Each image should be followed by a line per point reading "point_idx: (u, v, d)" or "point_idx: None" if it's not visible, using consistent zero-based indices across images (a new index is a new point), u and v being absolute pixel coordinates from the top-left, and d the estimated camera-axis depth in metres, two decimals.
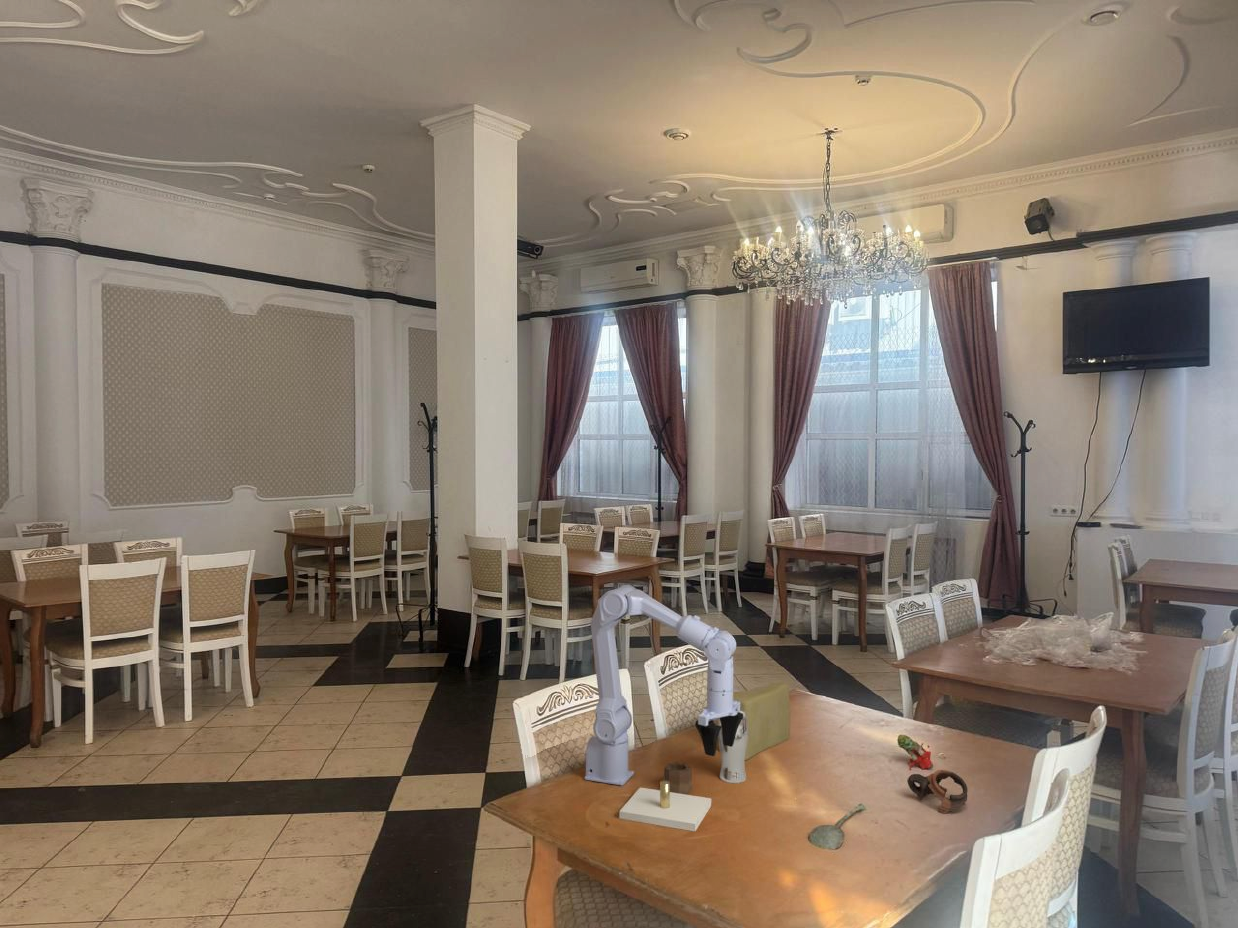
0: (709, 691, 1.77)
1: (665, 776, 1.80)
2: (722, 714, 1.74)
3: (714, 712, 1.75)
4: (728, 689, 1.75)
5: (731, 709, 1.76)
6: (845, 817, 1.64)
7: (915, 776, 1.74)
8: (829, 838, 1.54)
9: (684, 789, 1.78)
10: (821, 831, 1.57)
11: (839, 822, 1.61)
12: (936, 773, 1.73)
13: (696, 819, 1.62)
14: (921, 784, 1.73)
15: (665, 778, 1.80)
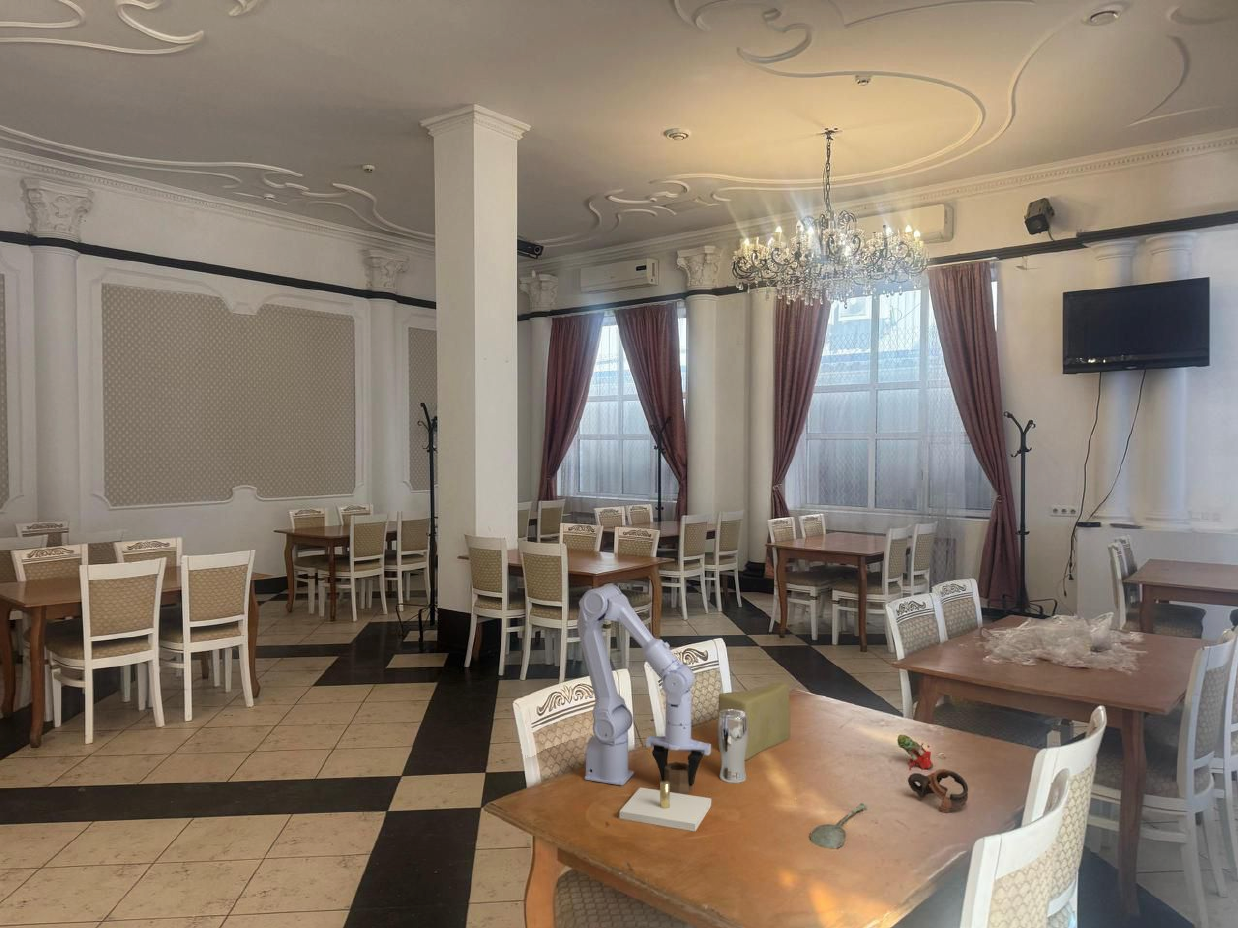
0: None
1: (665, 776, 1.80)
2: (663, 743, 1.79)
3: (664, 740, 1.81)
4: (685, 722, 1.78)
5: (675, 744, 1.78)
6: (846, 817, 1.64)
7: (916, 775, 1.75)
8: (830, 838, 1.55)
9: (684, 789, 1.78)
10: (822, 831, 1.57)
11: (840, 822, 1.62)
12: (937, 772, 1.73)
13: (696, 819, 1.62)
14: (922, 783, 1.74)
15: (665, 778, 1.80)
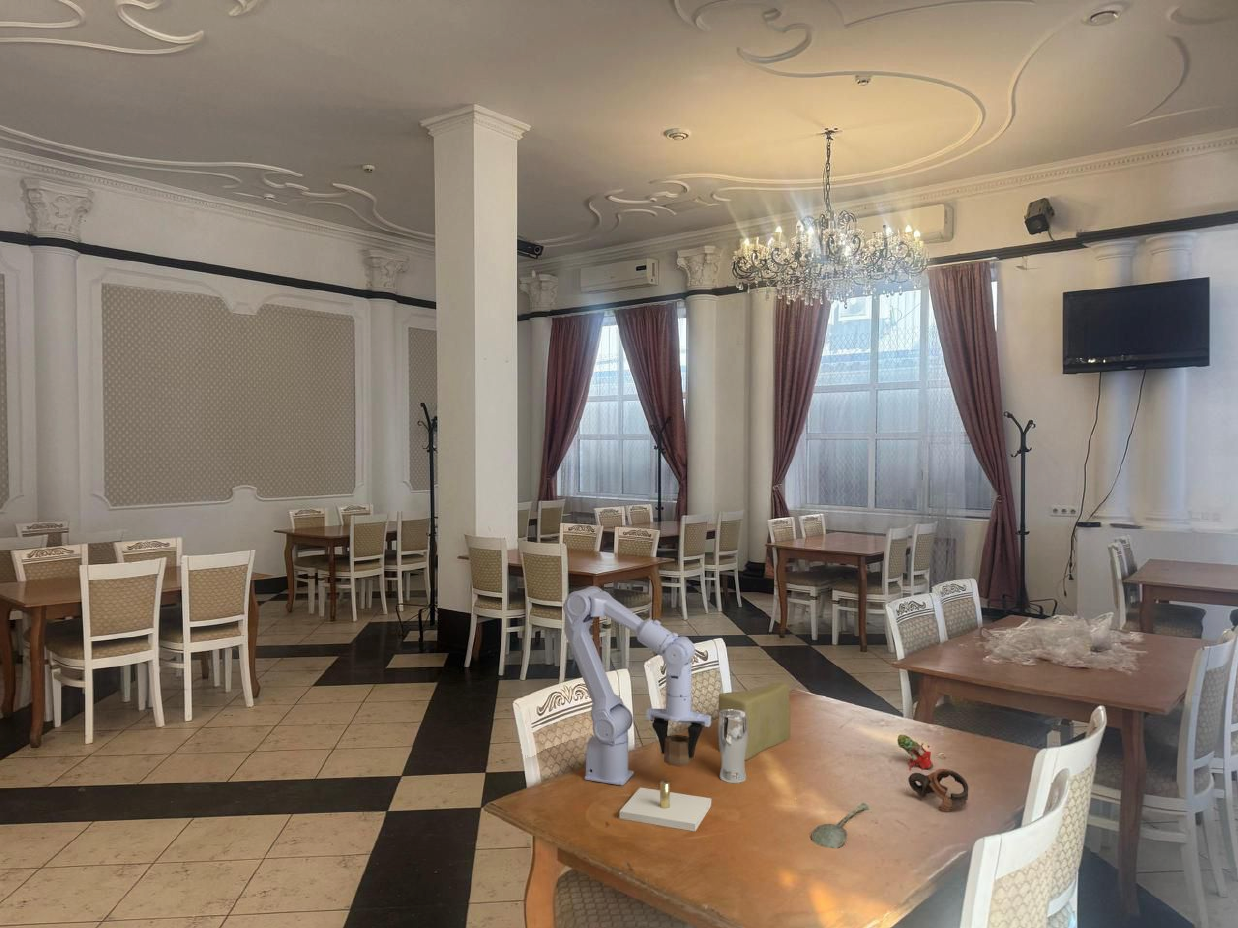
0: None
1: (665, 748, 1.80)
2: (664, 715, 1.79)
3: (665, 712, 1.81)
4: (685, 694, 1.78)
5: (675, 715, 1.78)
6: (848, 816, 1.64)
7: (916, 775, 1.75)
8: (831, 837, 1.55)
9: (684, 761, 1.78)
10: (823, 830, 1.57)
11: (842, 821, 1.62)
12: (937, 772, 1.74)
13: (696, 819, 1.62)
14: (922, 783, 1.74)
15: (665, 750, 1.80)
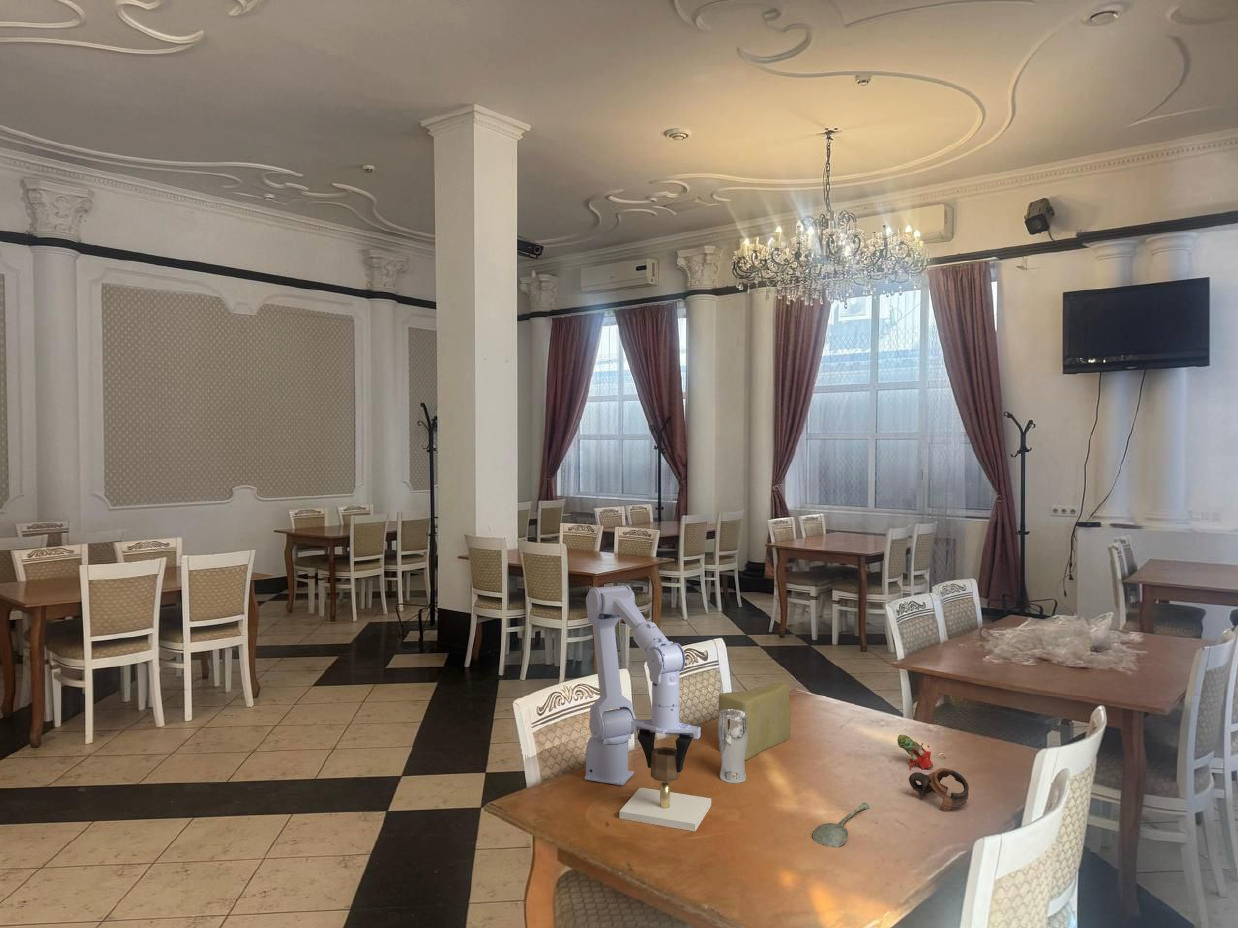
0: None
1: (651, 762, 1.67)
2: (649, 727, 1.67)
3: (651, 723, 1.69)
4: (664, 704, 1.65)
5: (662, 727, 1.65)
6: (849, 816, 1.65)
7: (917, 774, 1.75)
8: (832, 836, 1.55)
9: (672, 775, 1.66)
10: (824, 829, 1.57)
11: (843, 820, 1.62)
12: (937, 771, 1.74)
13: (696, 819, 1.62)
14: (922, 782, 1.74)
15: (651, 764, 1.67)
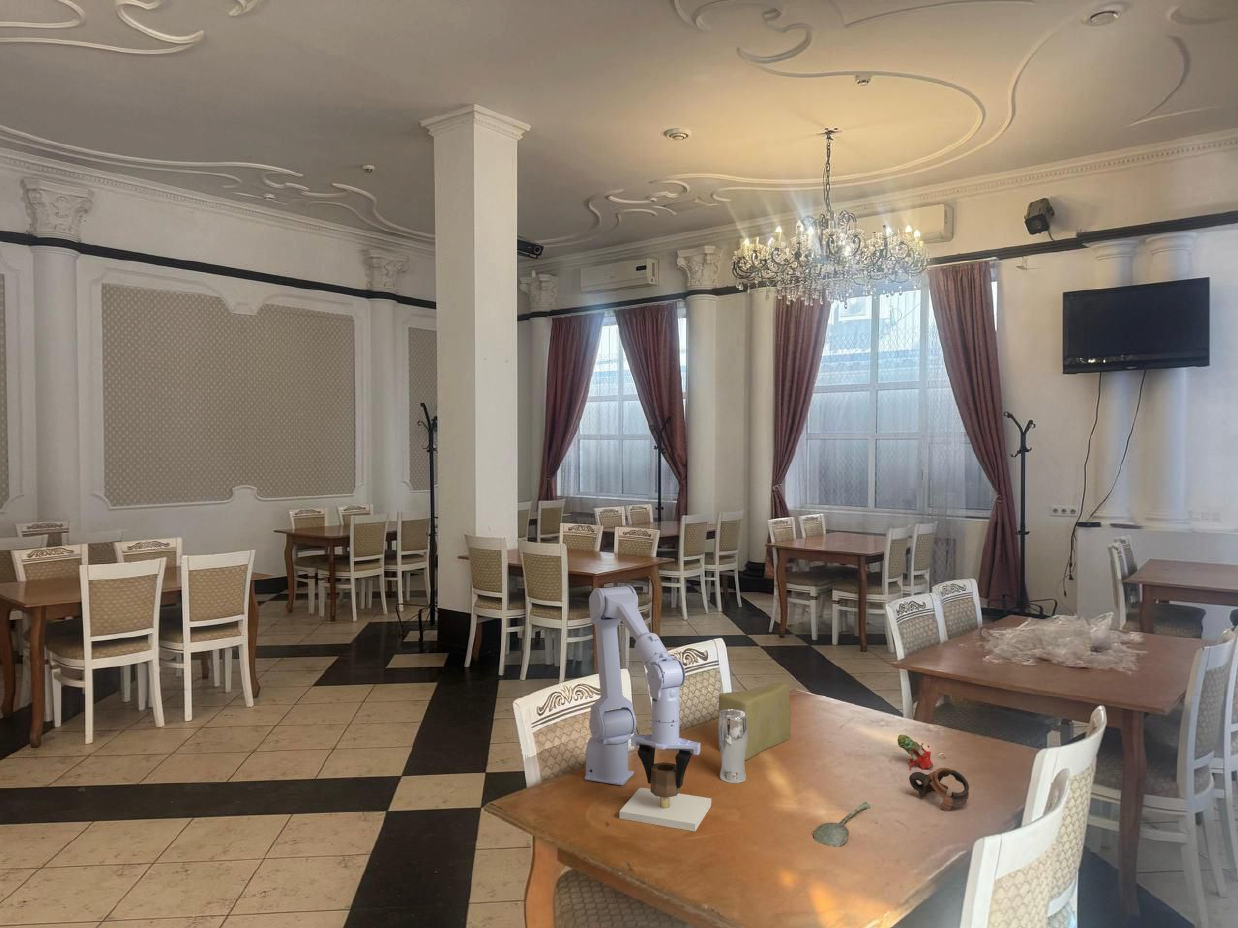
0: None
1: (651, 777, 1.67)
2: (649, 742, 1.67)
3: (651, 739, 1.69)
4: (664, 720, 1.65)
5: (662, 742, 1.65)
6: (850, 815, 1.65)
7: (917, 774, 1.75)
8: (833, 836, 1.56)
9: (672, 791, 1.66)
10: (825, 829, 1.58)
11: (843, 820, 1.62)
12: (938, 771, 1.74)
13: (696, 819, 1.62)
14: (923, 782, 1.74)
15: (651, 779, 1.67)
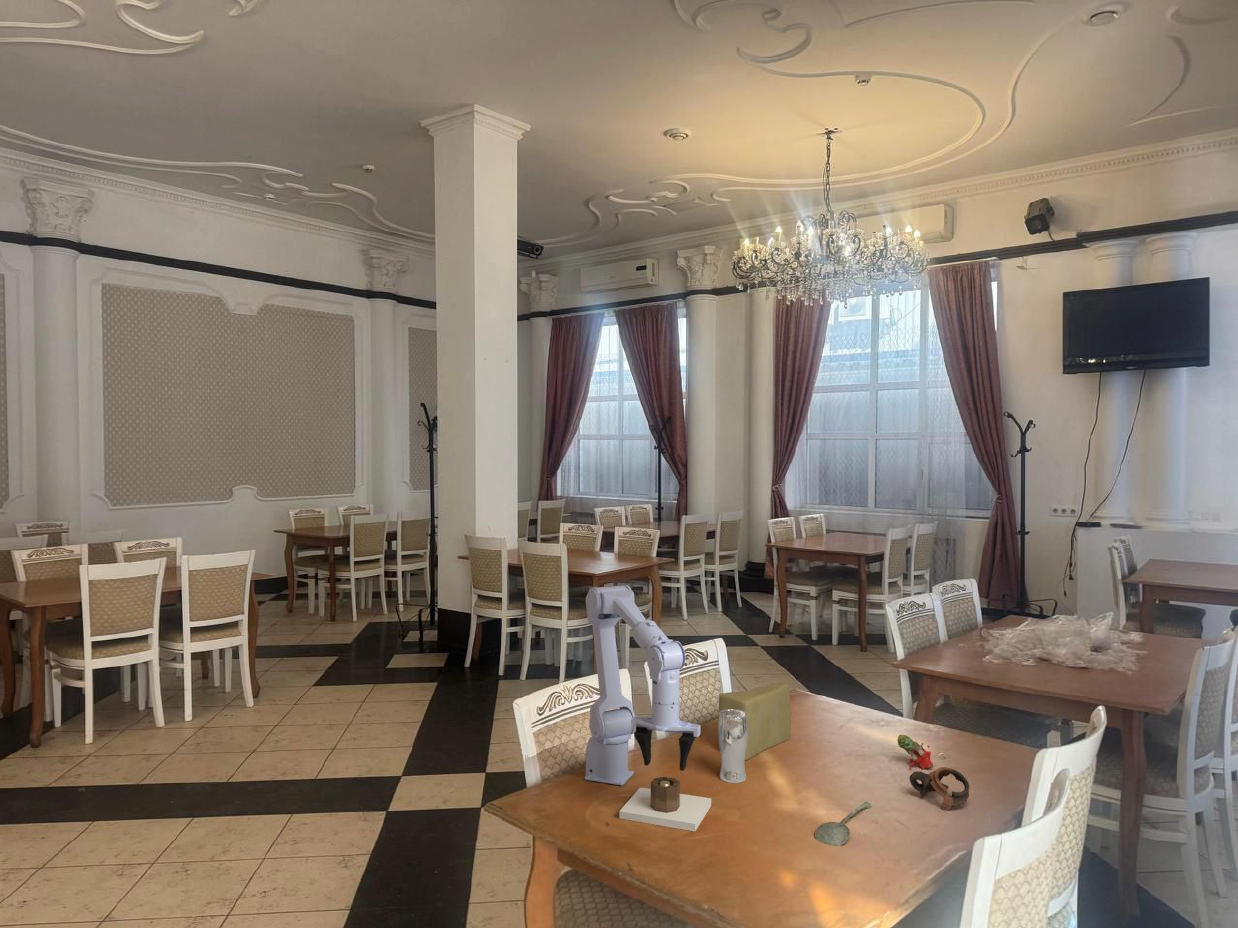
0: None
1: (651, 792, 1.67)
2: (649, 725, 1.67)
3: (651, 721, 1.69)
4: (664, 702, 1.65)
5: (662, 725, 1.65)
6: (850, 814, 1.65)
7: (917, 773, 1.76)
8: (834, 835, 1.56)
9: (672, 806, 1.66)
10: (826, 828, 1.58)
11: (844, 819, 1.63)
12: (938, 770, 1.75)
13: (696, 819, 1.62)
14: (923, 781, 1.75)
15: (651, 794, 1.67)
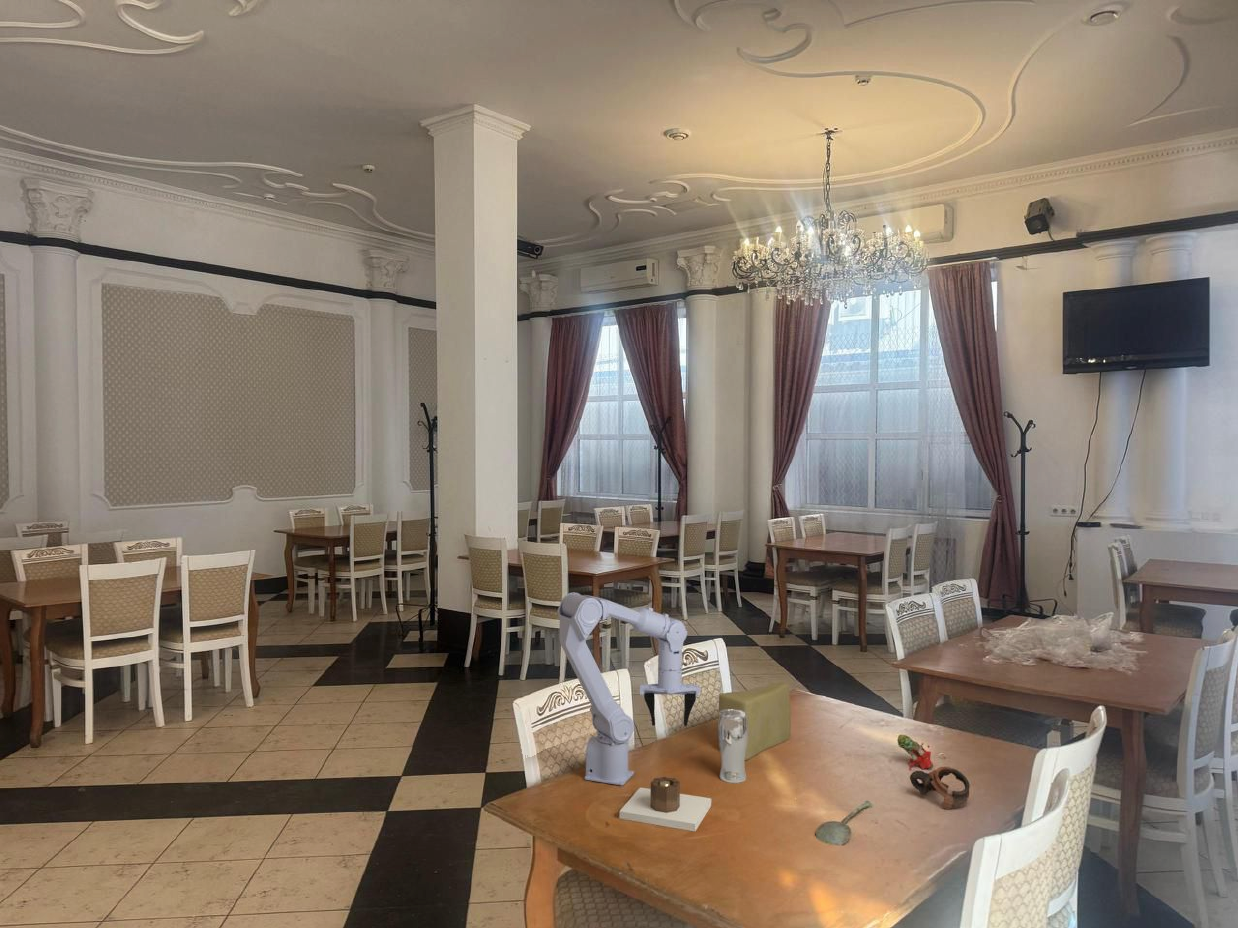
0: None
1: (651, 792, 1.67)
2: (659, 689, 1.92)
3: (657, 687, 1.94)
4: (681, 666, 1.94)
5: (671, 688, 1.92)
6: (852, 814, 1.65)
7: (918, 773, 1.76)
8: (835, 834, 1.56)
9: (672, 806, 1.66)
10: (827, 827, 1.58)
11: (846, 819, 1.63)
12: (938, 770, 1.75)
13: (696, 819, 1.62)
14: (924, 781, 1.75)
15: (651, 794, 1.67)
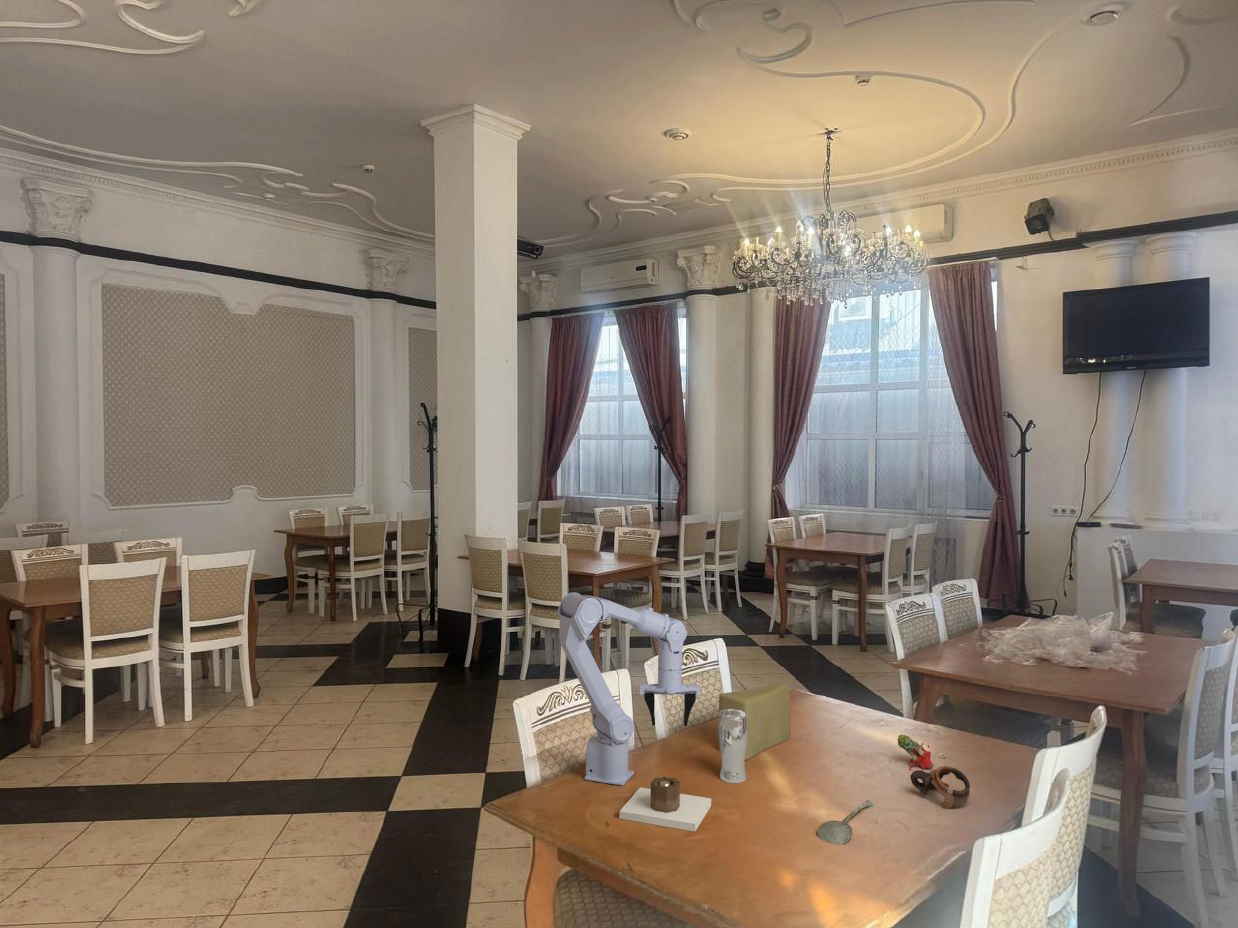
0: None
1: (651, 792, 1.67)
2: (659, 689, 1.92)
3: (657, 687, 1.94)
4: (681, 666, 1.94)
5: (671, 688, 1.92)
6: (853, 813, 1.66)
7: (918, 772, 1.76)
8: (836, 834, 1.56)
9: (672, 806, 1.66)
10: (829, 827, 1.59)
11: (847, 818, 1.63)
12: (939, 769, 1.75)
13: (696, 819, 1.62)
14: (924, 780, 1.75)
15: (651, 794, 1.67)
